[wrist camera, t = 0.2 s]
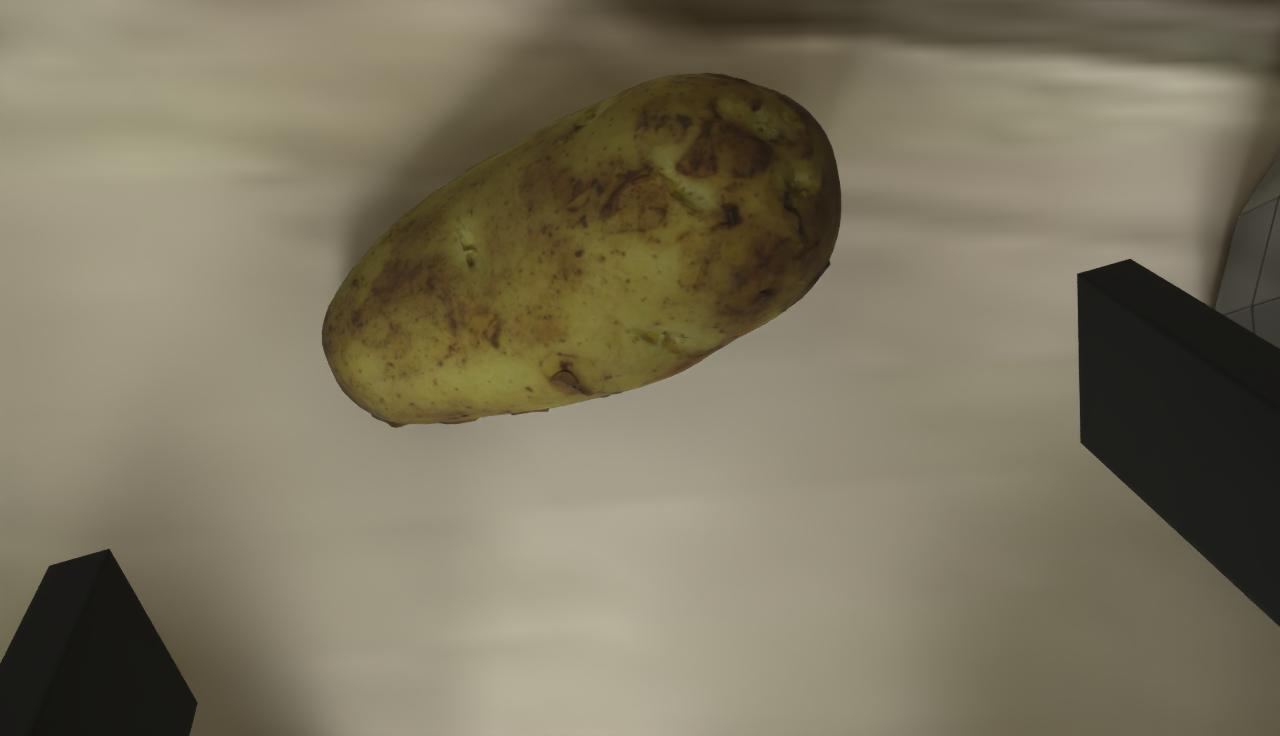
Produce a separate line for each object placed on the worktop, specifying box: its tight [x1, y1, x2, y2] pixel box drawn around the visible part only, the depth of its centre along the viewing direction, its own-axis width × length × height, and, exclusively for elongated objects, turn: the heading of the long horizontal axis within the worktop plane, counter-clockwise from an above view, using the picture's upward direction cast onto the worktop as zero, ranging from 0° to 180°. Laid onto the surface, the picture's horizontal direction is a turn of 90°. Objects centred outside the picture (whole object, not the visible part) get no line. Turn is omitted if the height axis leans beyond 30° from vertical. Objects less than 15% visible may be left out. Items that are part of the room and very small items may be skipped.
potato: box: [322, 73, 841, 428], centre depth 26 cm, size 8×13×8 cm, turn 91°
